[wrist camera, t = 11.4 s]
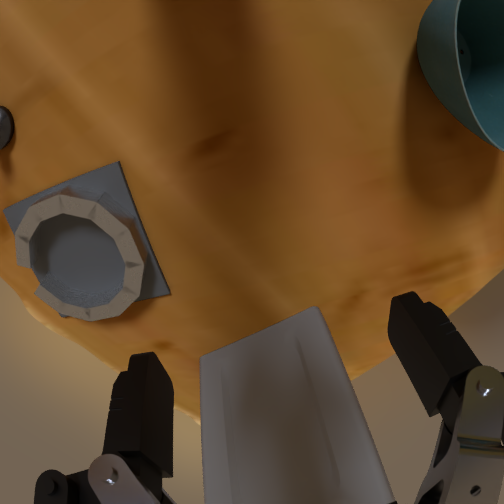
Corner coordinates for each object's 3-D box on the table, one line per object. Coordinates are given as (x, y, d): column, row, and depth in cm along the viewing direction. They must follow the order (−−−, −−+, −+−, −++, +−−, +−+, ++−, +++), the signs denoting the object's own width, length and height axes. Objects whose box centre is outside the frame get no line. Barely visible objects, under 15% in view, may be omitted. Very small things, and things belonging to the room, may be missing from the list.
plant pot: (497, 27, 24) (565, 33, 14) (477, 143, 33) (544, 175, 23) (391, -37, 21) (458, -64, 11) (368, 101, 30) (437, 120, 20)
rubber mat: (5, 208, 30) (2, 210, 30) (119, 160, 30) (117, 162, 30) (62, 314, 39) (61, 317, 39) (170, 290, 39) (169, 293, 39)
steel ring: (7, 211, 30) (-5, 222, 28) (116, 166, 30) (108, 175, 27) (63, 313, 38) (56, 328, 36) (165, 290, 38) (163, 306, 36)
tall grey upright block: (244, 402, 53) (266, 550, 29) (197, 357, 46) (204, 544, 22) (345, 360, 50) (403, 510, 26) (316, 304, 43) (393, 500, 19)
